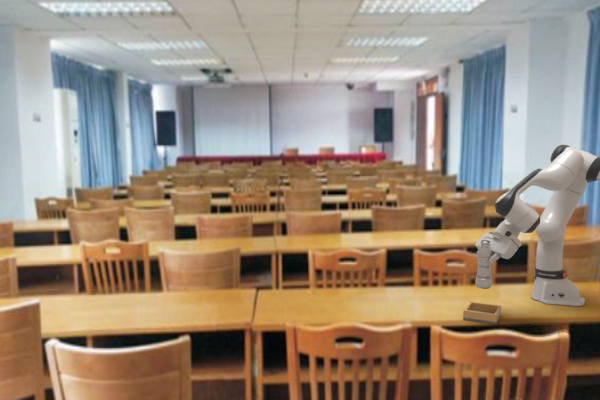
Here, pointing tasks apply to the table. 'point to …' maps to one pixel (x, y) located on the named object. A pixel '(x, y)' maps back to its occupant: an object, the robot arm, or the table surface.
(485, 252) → the plastic bottle
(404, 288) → the table surface
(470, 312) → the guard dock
